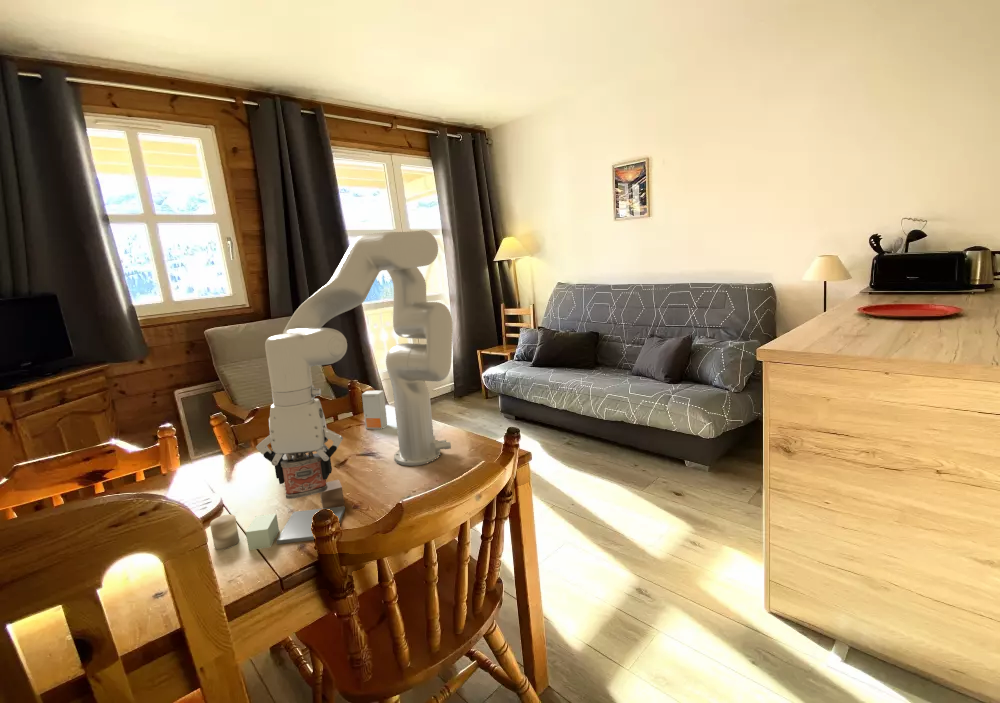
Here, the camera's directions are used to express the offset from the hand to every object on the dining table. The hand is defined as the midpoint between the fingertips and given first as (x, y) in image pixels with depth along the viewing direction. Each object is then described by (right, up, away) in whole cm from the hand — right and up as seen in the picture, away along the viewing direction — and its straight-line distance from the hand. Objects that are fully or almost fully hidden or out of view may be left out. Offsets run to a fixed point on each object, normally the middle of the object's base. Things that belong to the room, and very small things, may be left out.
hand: (305, 478), depth 99 cm
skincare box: (-1, +1, +60) cm, 60 cm away
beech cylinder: (-15, -12, -2) cm, 19 cm away
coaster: (+1, -10, +2) cm, 11 cm away
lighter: (0, -3, +1) cm, 3 cm away
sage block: (-6, -10, -2) cm, 12 cm away
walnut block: (+2, -9, +11) cm, 14 cm away
